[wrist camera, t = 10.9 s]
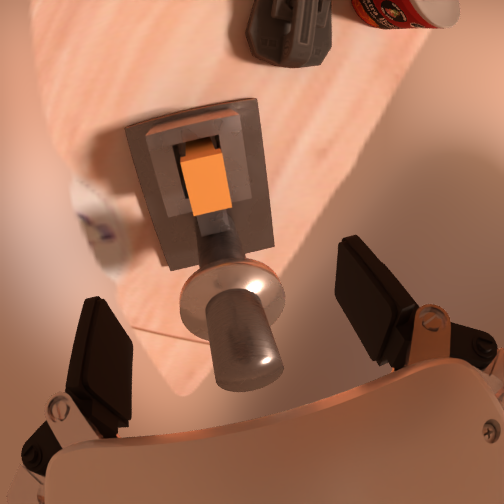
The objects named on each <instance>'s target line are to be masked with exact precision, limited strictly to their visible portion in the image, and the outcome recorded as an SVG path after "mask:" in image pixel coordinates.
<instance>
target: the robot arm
mask: <svg viewBox="0 0 504 504" xmlns="http://www.w3.org/2000/svg"><path fill="white" fill-rule="evenodd" d="M335 296H336V299H337V301H338V303H339V304H340V306H341V307H342V309H343V311H344V313H345V314H346V316H347V318H348V319H349V321H350V323H351V325H352V326H353V328H354V330H355V331H356V333H357V335H358V337H359V338H360V340H361V342H362V344H363V346H364V347H365V349H366V351H367V352H368V354H369V356H370V358H371V359H372V360H373V361H377V363H378V365H379V366H381V365H384V364H386V363H388V362H389V364H390V366H391V367H392V372H391V373H390V374H387V375H385V376H383V377H380V378H378V379H375V380H373V381H370V382H368V383H365V384H363V385H360V386H358V387H355V388H352V389H350V390H347V391H345V392H342V393H339V394H336V395H334V396H331V397H328V398H325V399H322V400H319V401H316V402H313V403H310V404H306V405H303V406H300V407H297V408H294V409H290V410H287V411H283V412H279V413H275V414H272V415H268V416H264V417H260V418H256V419H251V420H247V421H242V422H238V423H233V424H228V425H223V426H218V427H212V428H206V429H201V430H194V431H187V432H179V433H171V434H163V435H152V436H140V437H127V438H121V437H120V436H119V434H118V428H120V427H129V422H128V420H131V415H132V409H131V408H132V400H131V399H132V361H133V344H132V341H131V339H130V338H129V336H128V335H127V333H126V332H125V330H124V329H123V327H122V326H121V324H120V323H119V321H118V320H117V318H116V317H115V315H114V313H113V312H112V310H111V309H110V307H109V306H108V304H107V302H106V301H105V300H104V299H101V298H100V297H99V296H96V297H92V298H87V299H85V301H84V304H83V308H82V311H81V315H80V319H79V323H78V327H77V331H76V336H75V340H74V344H73V349H72V354H71V359H70V364H69V369H68V375H67V381H66V389H65V392H58V393H55V394H53V395H52V396H51V397H50V398H49V399H48V401H47V403H46V405H45V417H46V421H45V422H44V423H43V424H42V425H41V426H40V428H38V429H37V431H36V432H35V433H34V434H33V435H32V436H31V437H30V438H29V439H28V440H27V441H26V442H25V444H24V446H23V448H22V453H21V457H22V461H23V465H21V464H20V465H19V467H18V469H17V472H16V474H15V476H14V479H13V481H12V483H11V486H10V488H9V491H8V494H7V502H8V504H504V348H502V347H501V348H500V349H498V348H497V344H496V342H495V340H494V338H493V337H492V336H491V335H490V334H488V333H486V332H484V331H480V330H477V329H473V328H470V327H466V326H462V325H459V324H455V323H452V322H451V321H450V317H449V315H448V313H447V312H446V311H445V310H444V309H443V308H441V307H440V306H438V305H435V304H425V305H423V306H421V307H419V306H418V305H417V303H416V302H415V301H414V300H413V298H412V297H411V296H410V294H409V293H408V292H407V291H406V289H405V288H404V287H403V286H402V285H401V283H400V282H399V281H398V280H397V278H396V277H395V276H394V275H393V274H392V272H391V271H390V270H389V269H388V268H387V267H386V266H385V264H383V263H382V262H381V261H380V260H379V259H378V258H377V257H376V256H375V254H374V253H373V252H372V251H371V250H370V249H369V248H368V246H367V245H366V244H365V243H364V242H363V241H362V240H361V239H360V237H358V236H357V235H353V236H349V237H345V238H343V239H342V242H340V243H339V244H338V256H337V270H336V281H335Z"/></svg>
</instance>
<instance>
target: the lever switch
mask: <svg viewBox="0 0 504 504" xmlns="http://www.w3.org/2000/svg"><path fill="white" fill-rule="evenodd" d="M125 132H126V136H127V140H128V143H129V147H130V151H131V154H132V158H133V161H134V165H135V168H136V171H137V175H138V178H139V181H140V185H141V188H142V191H143V194H144V197H145V200H146V203H147V207H148V210H149V213H150V216H151V218H152V221H153V224H154V227H155V230H156V233H157V236H158V239H159V241H160V244H161V247H162V250H163V252H164V255H165V258H166V260H167V263H168V266H169V268H170V271H174V270H178V269H182V268H187V267H191V266H195V265H199V267H200V269H199V270H197V271H196V272H194V273H193V274H192V275H191V276H190V277H189V278H188V280H187V281H186V282H185V284H184V286H183V288H182V290H181V293H180V315H181V319H182V322H183V323H184V325H185V326H186V328H187V329H188V330H189V331H190V332H191V333H193V334H194V335H196V336H198V337H200V338H202V339H205V340H208V341H209V342H210V348H211V355H212V361H213V367H214V373H215V379H216V383H217V384H218V386H220V387H221V388H222V389H225V390H228V391H233V392H246V391H252V390H256V389H260V388H263V387H265V386H267V385H269V384H271V383H272V382H274V381H275V380H277V379H278V377H280V376H281V374H282V372H283V370H284V366H283V363H282V360H281V357H280V354H279V351H278V348H277V346H276V343H275V340H274V337H273V334H272V331H271V328H270V326H271V325H273V324H274V322H275V321H276V320H277V319H278V318H279V316H280V314H281V313H282V311H283V308H284V305H285V292H284V289H283V287H282V285H281V283H280V280H279V278H278V276H277V275H276V273H275V272H274V271H273V270H272V269H271V268H270V267H269V266H267V265H265V264H264V263H261V262H259V261H256V260H253V259H248V258H246V256H245V254H246V253H250V252H254V251H258V250H263V249H267V248H271V247H275V245H274V236H273V226H272V217H271V208H270V199H269V190H268V181H267V173H266V164H265V156H264V148H263V140H262V132H261V124H260V117H259V109H258V102H257V99H256V98H251V99H244V100H237V101H231V102H226V103H220V104H215V105H210V106H205V107H200V108H195V109H191V110H186V111H182V112H178V113H174V114H170V115H166V116H162V117H158V118H155V119H151V120H148V121H144V122H141V123H137V124H134V125H131V126H128V127H126V128H125ZM209 136H210V138H211V141H212V143H213V146H214V148H215V149H219V148H220V149H221V152H222V155H223V160H224V166H225V171H226V177H227V182H228V188H229V193H230V198H231V204H232V207H231V208H227V209H222V210H218V211H214V212H209V213H205V214H201V215H197V216H194V215H193V211H192V207H191V203H190V200H189V196H188V192H187V188H186V184H185V180H184V176H183V172H182V167H181V163H180V159H181V157H184V156H186V142H187V141H191V140H195V139H200V138H204V137H209Z"/></svg>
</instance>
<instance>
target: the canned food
mask: <svg viewBox="0 0 504 504" xmlns="http://www.w3.org/2000/svg"><path fill="white" fill-rule="evenodd" d="M351 1H352V5H353V7H354V9H355V11H356V12H357V14H358V15H359V16H360V17H361V19H362V20H364V21H365V22H366V23H368V24H370V25H371V26H374V27H377V28H380V29H406V28H443V29H444V28H451V27H453V26H455V25H456V23H457V22H458V20H459V17H460V3H459V0H351Z"/></svg>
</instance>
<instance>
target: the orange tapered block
mask: <svg viewBox="0 0 504 504" xmlns="http://www.w3.org/2000/svg"><path fill="white" fill-rule="evenodd" d="M180 163H181V167H182V172H183V176H184V180H185V184H186V188H187V192H188V196H189V200H190V203H191V207H192V211H193V215H194V216H197V215H201V214H205V213H209V212H214V211H218V210H222V209H227V208H231V207H232V204H231V198H230V193H229V188H228V182H227V177H226V171H225V166H224V160H223V155H222V152H221V149H220V148H219V149H215V148H214V146H213V143H212V141H211V138H210V136H209V137H204V138H200V139H195V140H191V141H187V142H186V156H184V157H181V159H180Z"/></svg>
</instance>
